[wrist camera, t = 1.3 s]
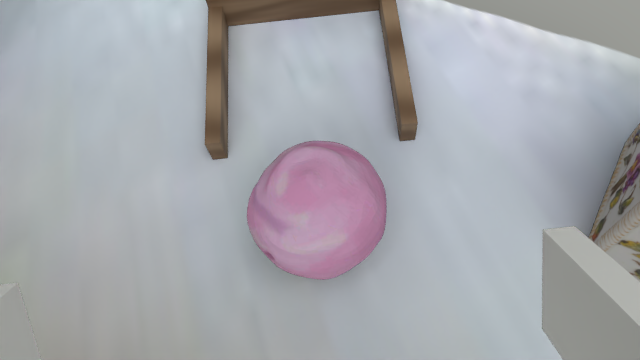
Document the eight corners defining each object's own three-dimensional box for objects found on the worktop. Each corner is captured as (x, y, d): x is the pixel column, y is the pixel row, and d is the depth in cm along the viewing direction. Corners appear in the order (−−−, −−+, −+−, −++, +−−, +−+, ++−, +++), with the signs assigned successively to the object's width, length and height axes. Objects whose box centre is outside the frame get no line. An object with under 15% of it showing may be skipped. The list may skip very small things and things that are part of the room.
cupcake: (311, 169, 43) (298, 96, 34) (406, 226, 40) (418, 163, 32) (242, 259, 40) (207, 205, 31) (338, 326, 38) (331, 288, 29)
